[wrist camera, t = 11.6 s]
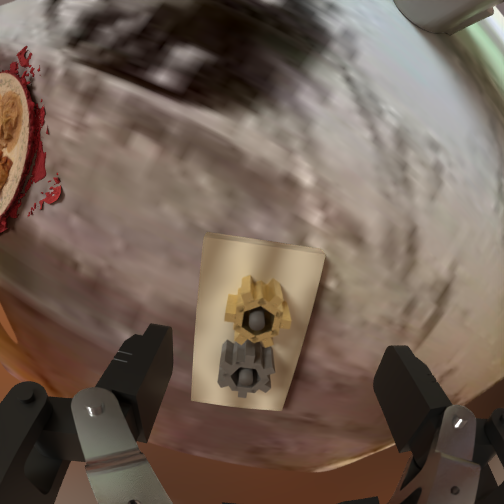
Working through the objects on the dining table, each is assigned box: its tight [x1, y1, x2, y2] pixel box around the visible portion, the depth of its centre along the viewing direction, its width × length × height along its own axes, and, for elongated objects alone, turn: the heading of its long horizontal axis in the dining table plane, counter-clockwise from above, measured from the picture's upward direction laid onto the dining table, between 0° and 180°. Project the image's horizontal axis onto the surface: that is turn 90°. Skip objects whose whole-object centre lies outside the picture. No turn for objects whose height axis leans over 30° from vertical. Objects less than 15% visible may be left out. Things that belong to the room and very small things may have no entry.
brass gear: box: [224, 275, 292, 348], centre depth 28 cm, size 6×6×4 cm
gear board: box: [191, 232, 326, 411], centre depth 30 cm, size 12×22×6 cm, turn 171°
